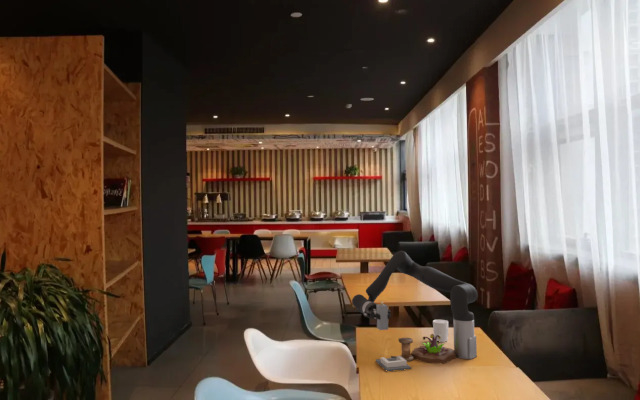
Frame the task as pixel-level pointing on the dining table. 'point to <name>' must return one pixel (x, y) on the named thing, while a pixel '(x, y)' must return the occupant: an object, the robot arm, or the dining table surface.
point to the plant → (433, 352)
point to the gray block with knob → (382, 316)
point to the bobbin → (405, 348)
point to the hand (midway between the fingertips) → (384, 317)
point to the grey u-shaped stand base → (393, 363)
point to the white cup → (440, 330)
